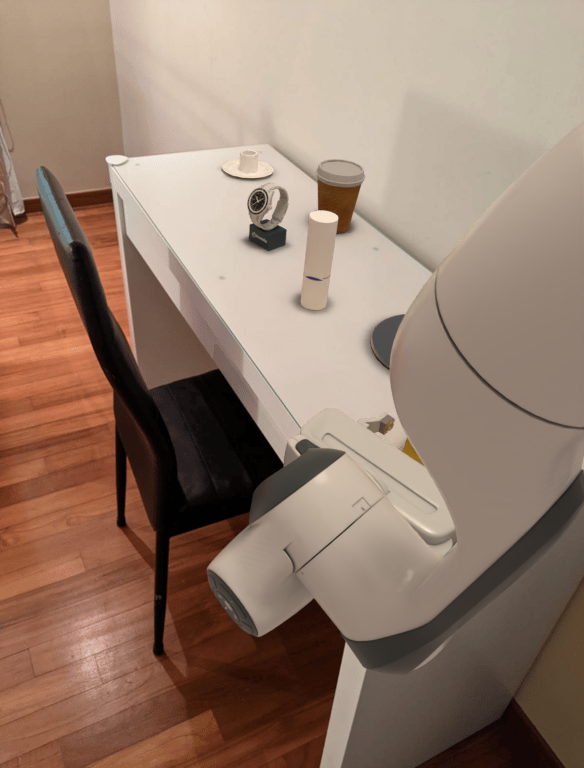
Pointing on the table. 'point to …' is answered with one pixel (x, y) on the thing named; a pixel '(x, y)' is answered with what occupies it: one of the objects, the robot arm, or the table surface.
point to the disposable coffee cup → (339, 189)
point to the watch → (267, 230)
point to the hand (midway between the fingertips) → (422, 440)
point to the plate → (385, 338)
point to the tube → (318, 259)
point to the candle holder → (247, 166)
